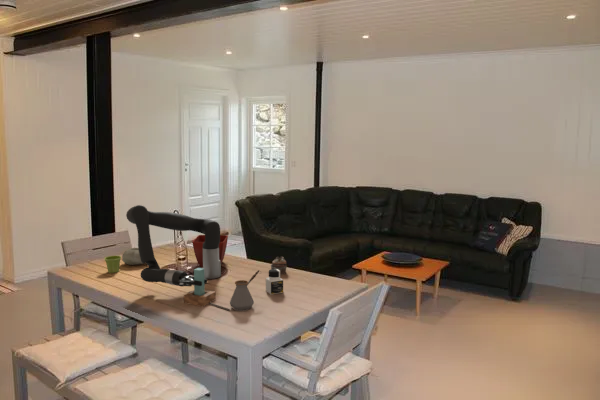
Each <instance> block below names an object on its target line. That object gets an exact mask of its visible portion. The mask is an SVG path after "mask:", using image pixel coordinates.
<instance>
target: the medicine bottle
mask: <svg viewBox="0 0 600 400" xmlns="http://www.w3.org/2000/svg"><path fill="white" fill-rule="evenodd" d="M265 292H267V293H268V294H269V295H276V294H283V293H284V279H283V278H281V275H280V270H278V269H271V268H270V269H269V270H268V277H266V278H265Z"/></svg>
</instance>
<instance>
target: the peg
mask: <svg viewBox="0 0 600 400" xmlns="http://www.w3.org/2000/svg"><path fill="white" fill-rule="evenodd" d="M193 276H194V280H195V281H202V286H197V285H194V287H193V289H194V290H193V291H194V295H199V296H202V295H204V294H205V290H206V289H205V288H206V286H205V285H206V284H204V279H205V278H204V269H203V267H197V268H195V269H193Z"/></svg>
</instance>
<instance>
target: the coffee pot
mask: <svg viewBox="0 0 600 400" xmlns="http://www.w3.org/2000/svg"><path fill="white" fill-rule="evenodd" d="M258 274H262V271H261V270H260V269H258V270H257V271H256V272H255V273H254V274H253V275H252V276H251V278H250V279H249V280H244V279H243V280H241V279H240V280H236V281H234V284H235V289H234V291H233V294H232V296H231V298H230V301H229V305H230V307H231V308H232V309H234V311H240V312H242V311H245V312H246V311H249V310H250V308H252V306H253V305H254V303H255V302H254V298H253V297H252V295H251V292H250V289H249V288H248V285H249V284H250V283H251V282H252V281H253V280H254V279H255V278H256V276H257V275H258Z"/></svg>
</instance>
